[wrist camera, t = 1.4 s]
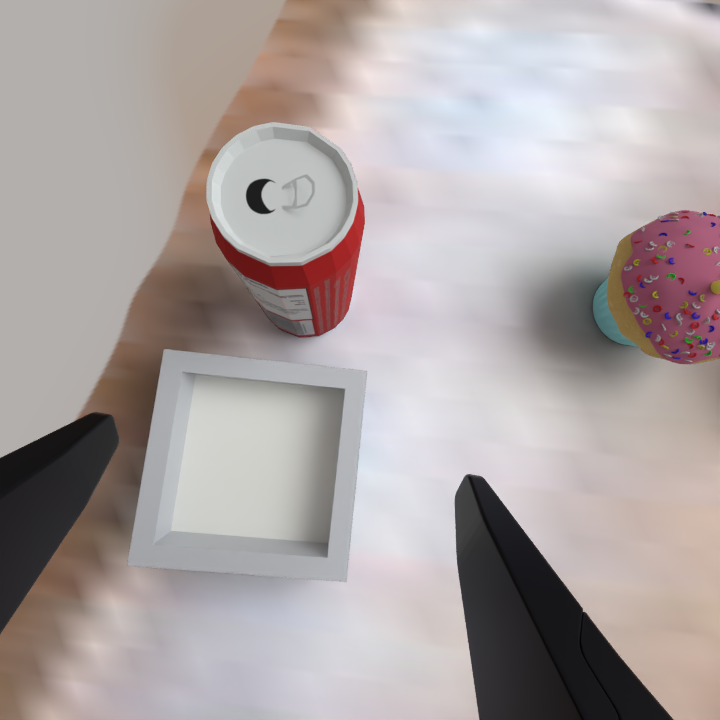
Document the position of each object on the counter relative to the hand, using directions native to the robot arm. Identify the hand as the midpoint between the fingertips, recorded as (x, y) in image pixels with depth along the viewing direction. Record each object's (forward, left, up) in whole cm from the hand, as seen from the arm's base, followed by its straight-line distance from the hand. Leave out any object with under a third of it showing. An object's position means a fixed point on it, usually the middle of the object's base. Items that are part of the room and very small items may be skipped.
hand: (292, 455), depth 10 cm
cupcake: (+22, +1, -14) cm, 26 cm away
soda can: (+2, +8, -14) cm, 16 cm away
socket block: (-3, 0, -13) cm, 14 cm away
